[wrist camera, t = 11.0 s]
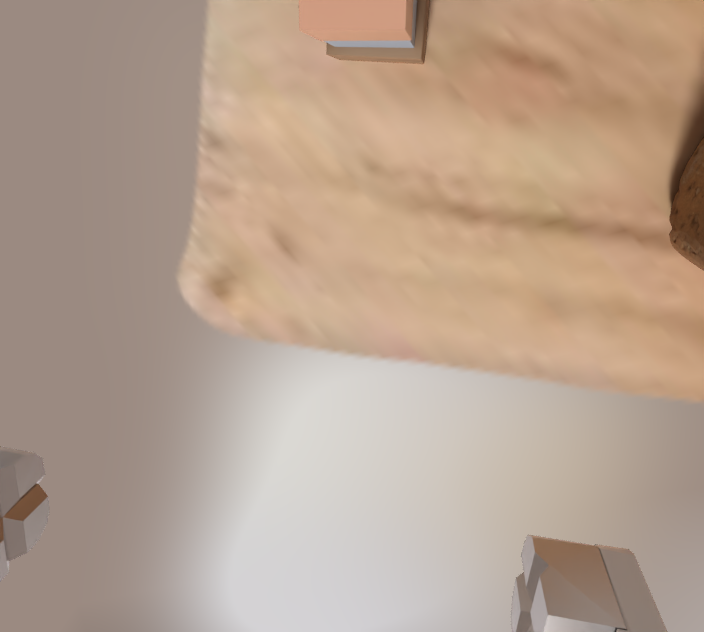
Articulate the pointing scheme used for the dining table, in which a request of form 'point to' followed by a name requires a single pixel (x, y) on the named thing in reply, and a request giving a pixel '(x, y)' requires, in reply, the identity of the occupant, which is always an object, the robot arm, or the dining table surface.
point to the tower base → (390, 54)
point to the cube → (357, 19)
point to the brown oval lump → (690, 211)
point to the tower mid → (381, 43)
